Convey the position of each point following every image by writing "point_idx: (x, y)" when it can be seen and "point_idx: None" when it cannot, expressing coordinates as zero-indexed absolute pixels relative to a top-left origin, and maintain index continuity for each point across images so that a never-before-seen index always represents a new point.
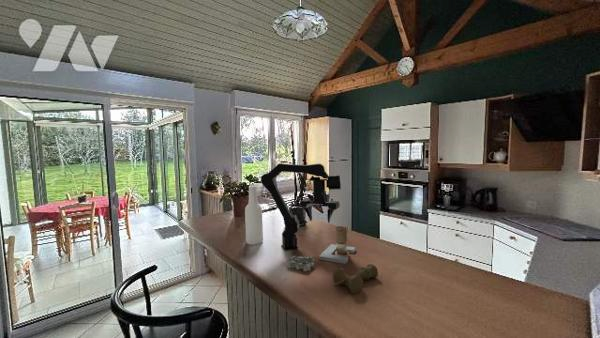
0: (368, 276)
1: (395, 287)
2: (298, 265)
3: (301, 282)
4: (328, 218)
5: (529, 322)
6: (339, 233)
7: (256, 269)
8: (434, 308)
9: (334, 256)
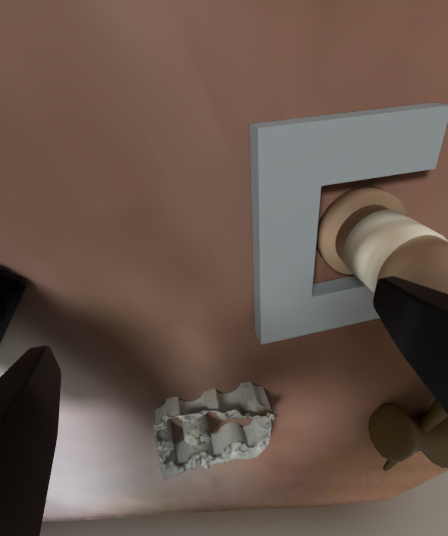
0: None
1: None
2: (222, 446)
3: (272, 464)
4: (439, 380)
5: None
6: None
7: (73, 508)
8: None
9: (337, 307)
